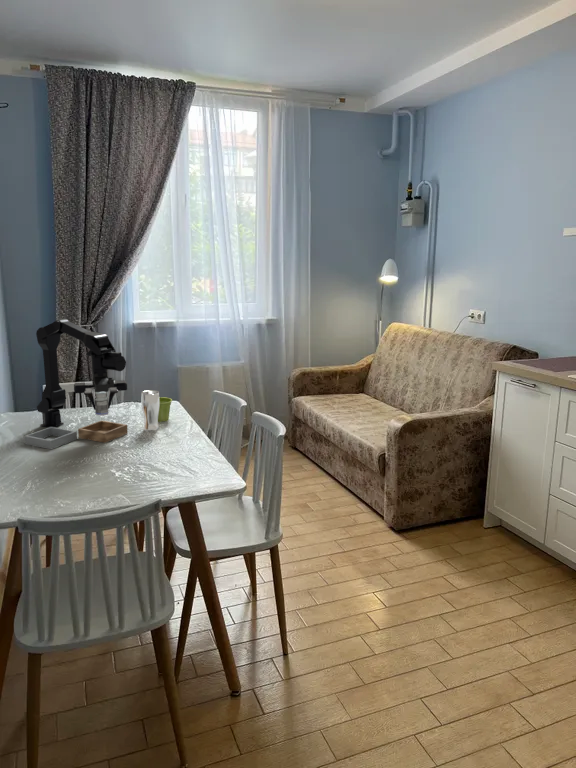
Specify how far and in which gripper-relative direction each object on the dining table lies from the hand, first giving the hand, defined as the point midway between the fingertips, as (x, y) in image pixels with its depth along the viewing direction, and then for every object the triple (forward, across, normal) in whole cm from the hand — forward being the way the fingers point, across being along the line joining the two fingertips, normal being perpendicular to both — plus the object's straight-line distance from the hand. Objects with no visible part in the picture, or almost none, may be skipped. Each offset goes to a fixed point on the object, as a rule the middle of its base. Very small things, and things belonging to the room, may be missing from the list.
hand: (101, 408), depth 219 cm
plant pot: (+11, +24, +14) cm, 30 cm away
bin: (+11, -18, -2) cm, 21 cm away
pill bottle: (+2, 0, 0) cm, 2 cm away
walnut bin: (+10, 0, 0) cm, 11 cm away
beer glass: (+11, +18, +3) cm, 22 cm away
